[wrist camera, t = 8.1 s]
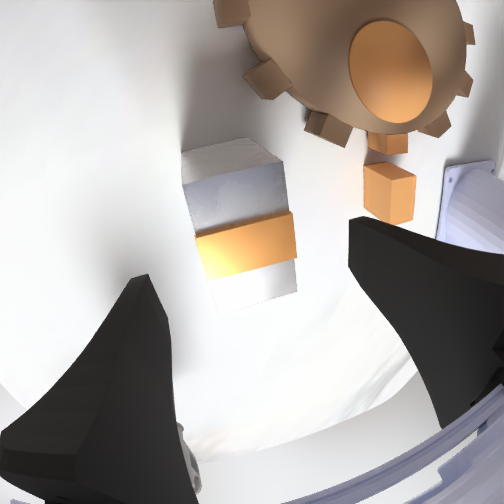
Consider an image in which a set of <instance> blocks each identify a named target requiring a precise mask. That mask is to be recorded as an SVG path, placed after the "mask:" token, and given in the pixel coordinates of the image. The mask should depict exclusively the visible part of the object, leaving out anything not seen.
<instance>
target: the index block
mask: <svg viewBox="0 0 504 504" xmlns="http://www.w3.org/2000/svg"><path fill="white" fill-rule="evenodd" d="M415 190H416V175H414V174H412V173H410V172H408V171H406V170H404V169H401V168H399V167H397V166H395V165H393V164H391V163H389V162H384V163H378V164H372V165H366V166H364V208H365V209H366V210H368V211H369V212H370V213H372V214H373V215H374V216H376V217H377V218H378V219H380V220H381V221H383V222H386V223H389V224H392V225H398V224H401V223H404V222H408V221H411V220H413V213H414V202H415Z"/></svg>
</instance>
